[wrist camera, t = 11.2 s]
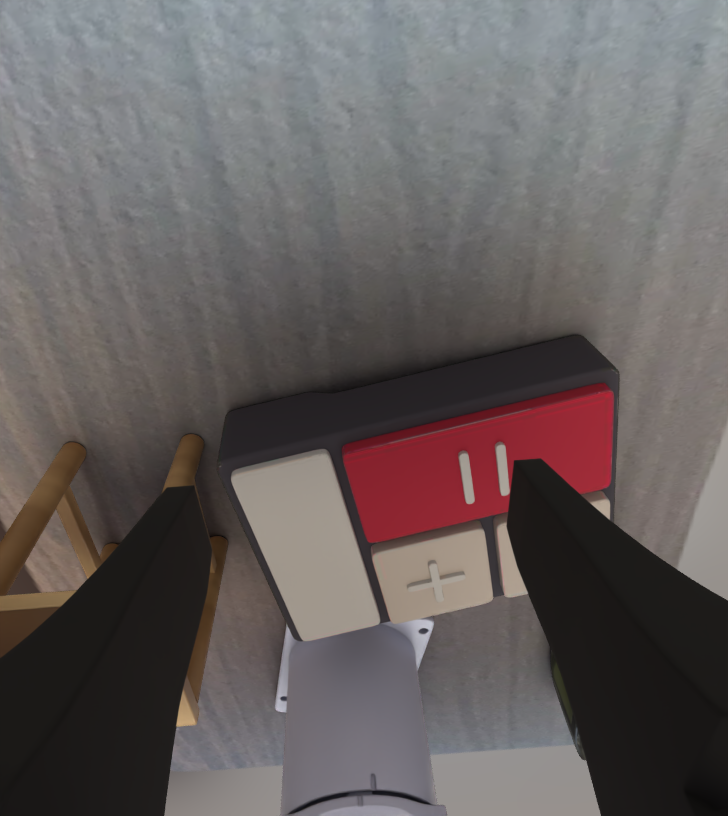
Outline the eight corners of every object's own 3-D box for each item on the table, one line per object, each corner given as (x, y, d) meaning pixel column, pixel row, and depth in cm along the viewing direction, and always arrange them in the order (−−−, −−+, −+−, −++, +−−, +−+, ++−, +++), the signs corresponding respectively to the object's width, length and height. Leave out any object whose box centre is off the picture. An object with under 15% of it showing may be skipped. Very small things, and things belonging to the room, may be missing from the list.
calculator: (621, 584, 25) (295, 660, 26) (579, 517, 29) (294, 585, 29) (633, 375, 19) (209, 477, 20) (579, 324, 23) (221, 411, 23)
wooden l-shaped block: (200, 709, 21) (180, 816, 18) (36, 722, 21) (-10, 833, 18) (155, 583, 17) (120, 693, 14) (-45, 598, 17) (-121, 712, 14)
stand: (229, 549, 28) (200, 709, 21) (106, 558, 28) (36, 722, 21) (202, 432, 24) (155, 583, 17) (58, 442, 24) (-45, 598, 17)
